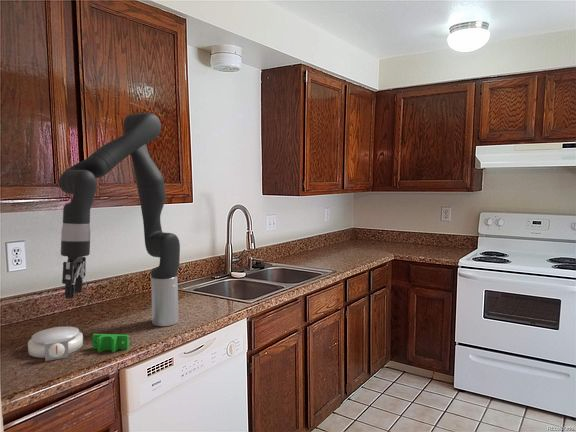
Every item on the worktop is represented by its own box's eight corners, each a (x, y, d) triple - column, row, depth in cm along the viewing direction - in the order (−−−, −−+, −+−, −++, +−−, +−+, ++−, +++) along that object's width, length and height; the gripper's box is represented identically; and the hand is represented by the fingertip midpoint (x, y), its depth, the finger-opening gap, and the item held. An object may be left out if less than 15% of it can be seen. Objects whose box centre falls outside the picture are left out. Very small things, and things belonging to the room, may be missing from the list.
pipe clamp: (88, 352, 131) (87, 338, 130) (94, 347, 134) (94, 333, 134) (123, 353, 130) (123, 338, 129) (129, 348, 133) (128, 334, 133)
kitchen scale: (29, 344, 137) (28, 328, 136) (81, 335, 144) (80, 321, 143) (27, 365, 121) (26, 348, 121) (85, 354, 128) (84, 338, 128)
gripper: (83, 241, 117) (81, 300, 117) (95, 237, 131) (93, 290, 131) (53, 240, 116) (51, 300, 116) (69, 237, 130) (67, 290, 130)
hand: (73, 295), depth 124 cm, fingers open, 8 cm apart
